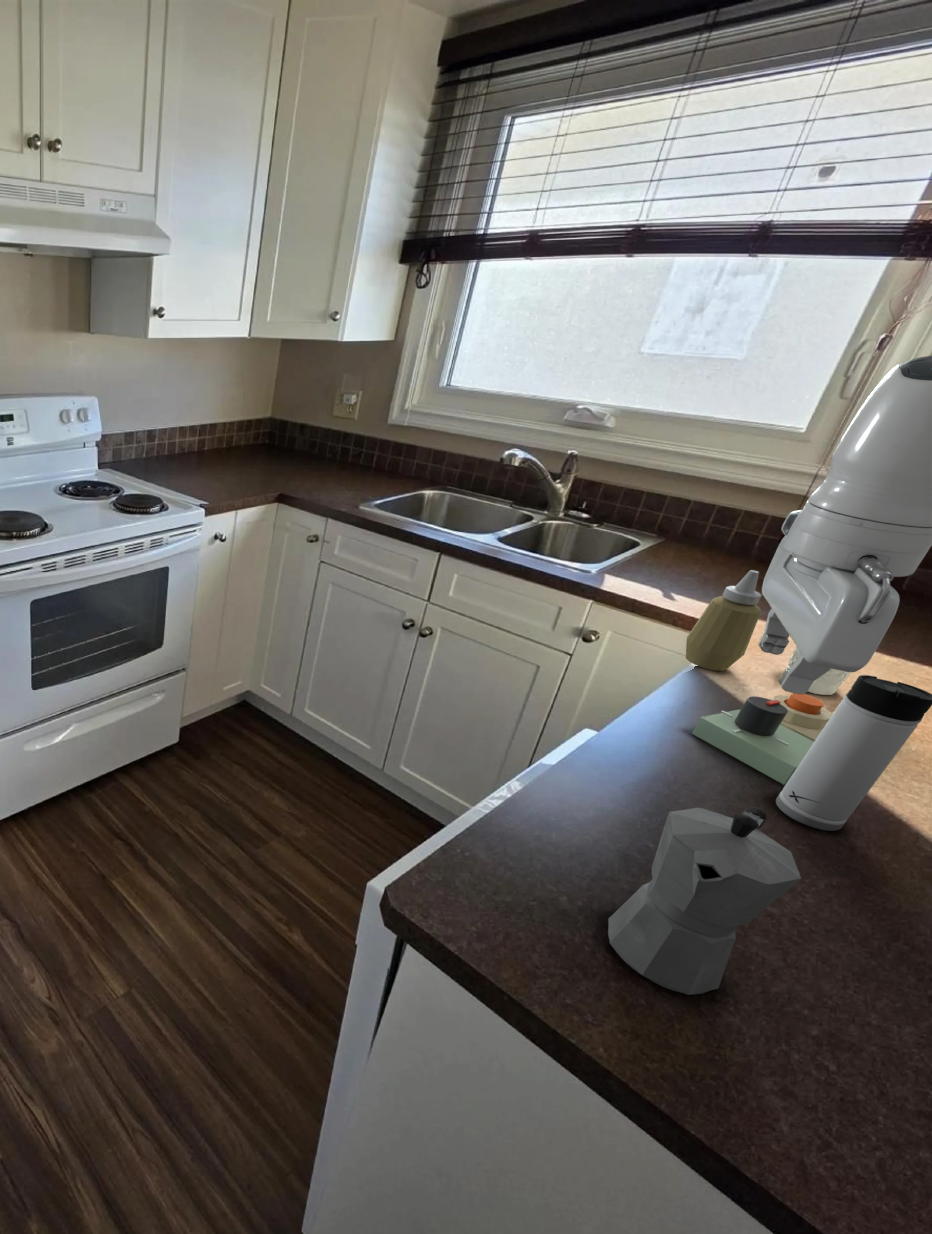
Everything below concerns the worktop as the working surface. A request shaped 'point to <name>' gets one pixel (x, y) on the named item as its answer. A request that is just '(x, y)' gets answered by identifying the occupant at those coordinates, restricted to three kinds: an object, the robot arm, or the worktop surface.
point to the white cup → (823, 678)
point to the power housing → (803, 720)
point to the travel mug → (852, 751)
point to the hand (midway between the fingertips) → (778, 669)
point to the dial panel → (755, 745)
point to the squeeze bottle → (725, 626)
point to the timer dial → (761, 716)
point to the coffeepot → (700, 897)
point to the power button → (804, 703)
